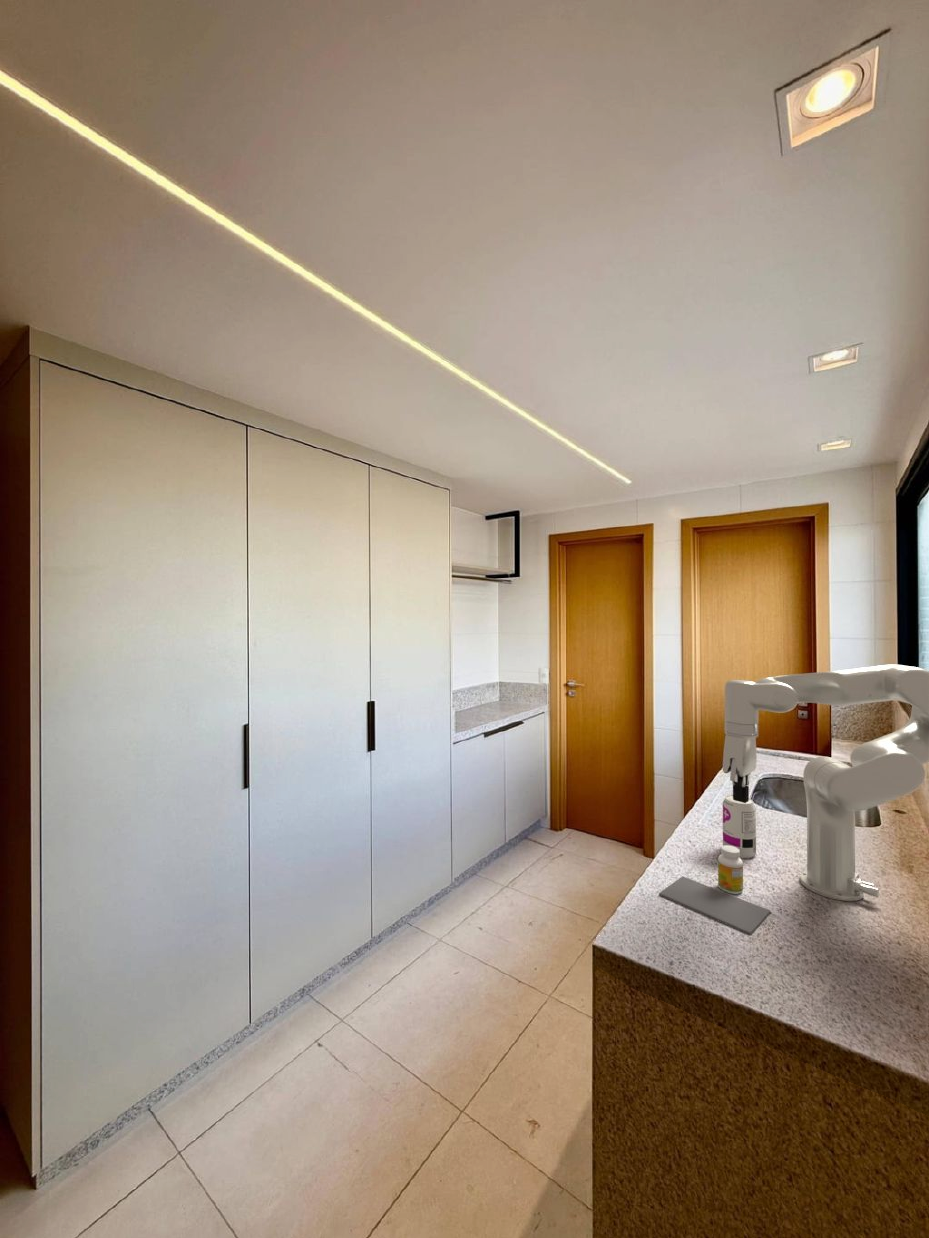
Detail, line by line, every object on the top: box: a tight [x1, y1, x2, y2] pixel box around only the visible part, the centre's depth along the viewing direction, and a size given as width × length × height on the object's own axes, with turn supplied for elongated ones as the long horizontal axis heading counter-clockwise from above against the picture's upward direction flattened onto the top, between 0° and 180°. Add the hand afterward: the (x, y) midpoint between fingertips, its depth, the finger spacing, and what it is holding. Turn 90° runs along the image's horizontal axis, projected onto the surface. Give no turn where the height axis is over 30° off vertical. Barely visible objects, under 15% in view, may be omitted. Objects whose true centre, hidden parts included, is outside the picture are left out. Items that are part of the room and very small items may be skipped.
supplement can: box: [722, 794, 757, 859], centre depth 140 cm, size 8×8×15 cm
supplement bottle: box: [717, 845, 744, 895], centre depth 121 cm, size 5×5×10 cm
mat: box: [658, 875, 772, 936], centre depth 114 cm, size 20×12×1 cm, turn 41°
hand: (740, 800), depth 126 cm, fingers closed
